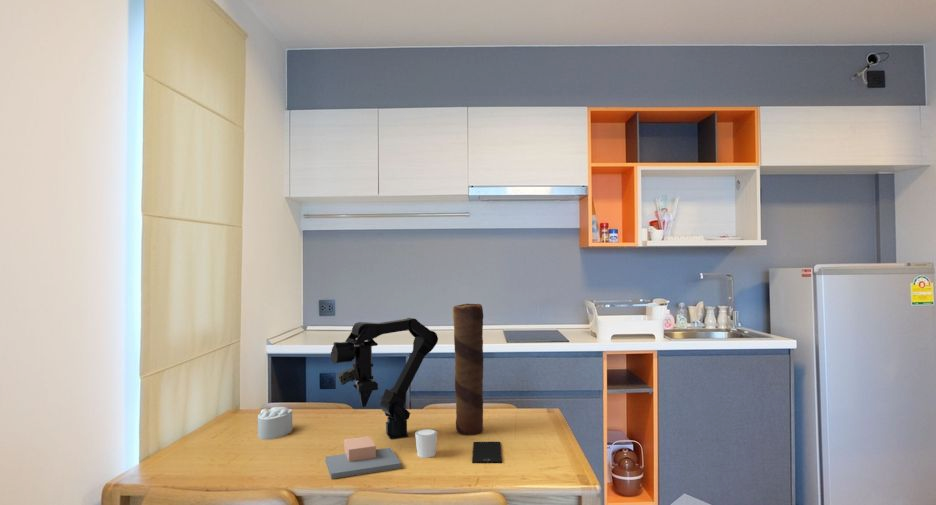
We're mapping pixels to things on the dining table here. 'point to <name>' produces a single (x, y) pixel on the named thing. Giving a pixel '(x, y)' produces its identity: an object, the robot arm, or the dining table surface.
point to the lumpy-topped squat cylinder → (274, 423)
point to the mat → (362, 464)
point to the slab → (359, 448)
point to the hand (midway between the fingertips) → (363, 406)
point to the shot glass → (426, 442)
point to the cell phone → (486, 452)
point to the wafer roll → (468, 367)
